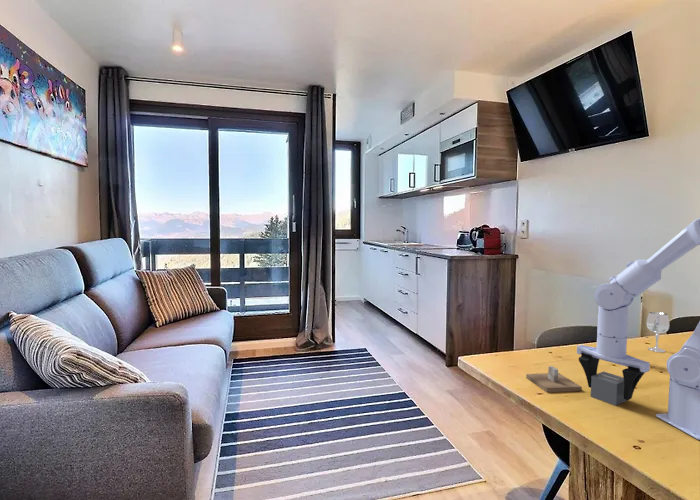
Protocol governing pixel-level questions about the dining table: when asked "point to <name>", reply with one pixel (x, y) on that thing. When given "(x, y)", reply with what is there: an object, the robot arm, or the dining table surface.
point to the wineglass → (657, 326)
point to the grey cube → (608, 388)
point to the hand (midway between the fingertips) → (609, 392)
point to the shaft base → (553, 381)
